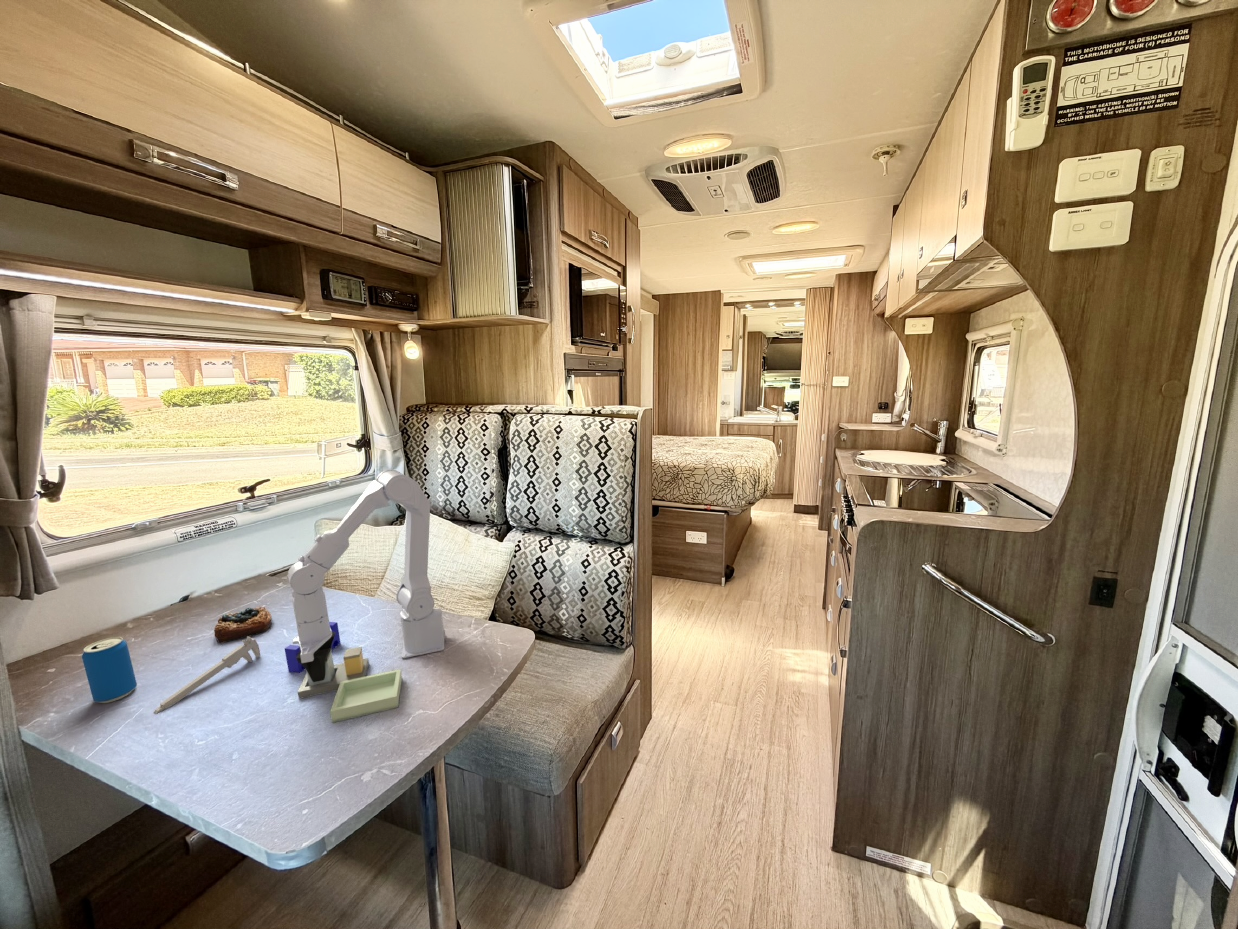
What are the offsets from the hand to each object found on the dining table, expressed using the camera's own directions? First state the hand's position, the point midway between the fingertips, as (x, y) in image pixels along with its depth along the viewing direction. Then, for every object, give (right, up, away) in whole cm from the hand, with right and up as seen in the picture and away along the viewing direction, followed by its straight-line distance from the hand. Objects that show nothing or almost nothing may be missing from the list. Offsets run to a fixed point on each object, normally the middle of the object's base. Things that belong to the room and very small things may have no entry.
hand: (321, 674), depth 102 cm
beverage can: (-43, -4, -2) cm, 43 cm away
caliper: (-25, -3, +2) cm, 26 cm away
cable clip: (-9, -1, +11) cm, 14 cm away
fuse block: (+2, -2, +1) cm, 3 cm away
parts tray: (+13, -3, -5) cm, 15 cm away
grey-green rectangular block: (0, -2, 0) cm, 2 cm away
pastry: (-36, +1, +24) cm, 43 cm away
